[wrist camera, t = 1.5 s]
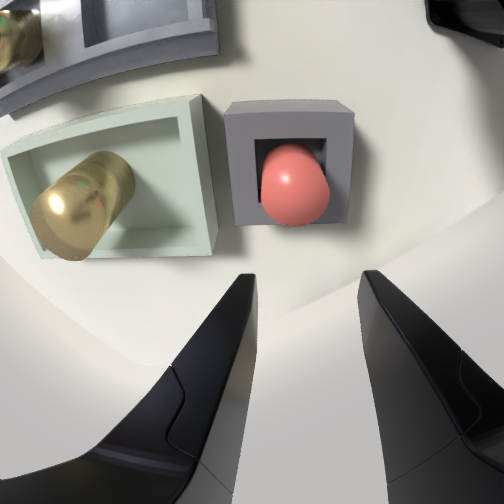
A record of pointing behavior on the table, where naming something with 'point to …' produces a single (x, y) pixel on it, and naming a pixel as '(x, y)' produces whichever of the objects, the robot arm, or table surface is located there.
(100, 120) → the tray
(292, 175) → the button
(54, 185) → the billet
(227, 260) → the table surface
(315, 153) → the grey square socket block
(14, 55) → the cylinder
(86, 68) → the grey flat frame
